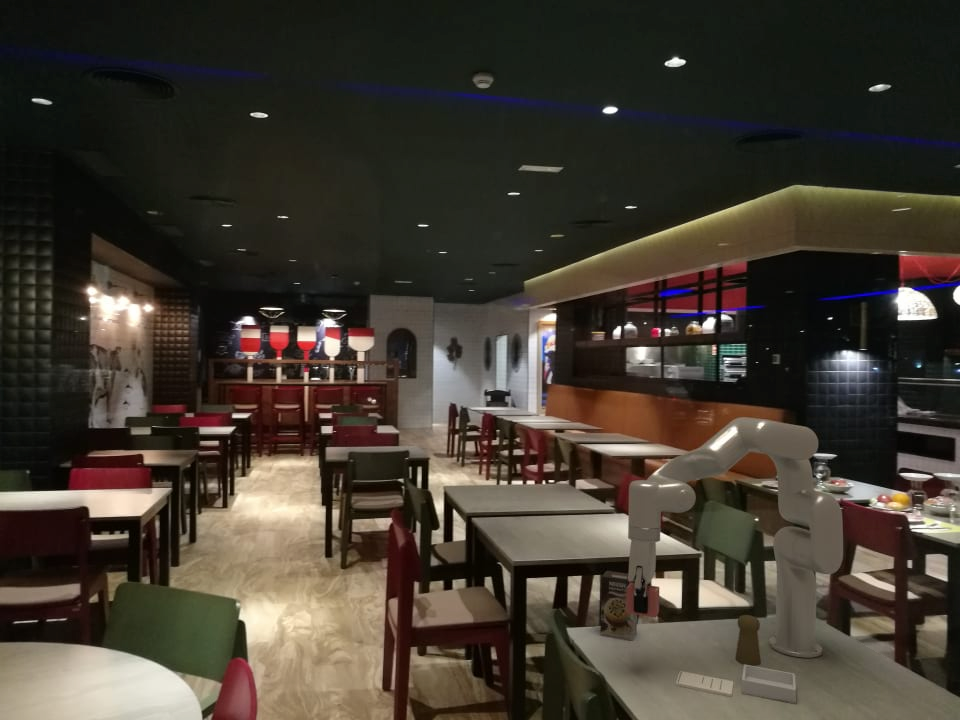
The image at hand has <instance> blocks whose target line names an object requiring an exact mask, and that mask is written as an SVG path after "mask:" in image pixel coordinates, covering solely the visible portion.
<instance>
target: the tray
mask: <svg viewBox="0 0 960 720" xmlns="http://www.w3.org/2000/svg"><path fill="white" fill-rule="evenodd" d="M742 669H743V670H742V678H741V679H742V680H741V694H743V695H749V696H755V697H760V698H762V699H763V698H765V699H769V700H774V701H779V702H784V703H788V704H789V703H790V704H794V705H796V698H797V697H796V696H797V688H796V687H797V685H796V673H793V672H787V671H782V670H777V669H770V668H767V667H762V666H761V667H760V666H750V665H745V664H743V668H742Z"/></svg>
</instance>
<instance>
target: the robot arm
mask: <svg viewBox="0 0 960 720" xmlns="http://www.w3.org/2000/svg"><path fill="white" fill-rule="evenodd" d="M818 448H819V439H818V436H817V435H816V433H815V432H814V431H813V430H812V429H811V428H809V427H808V426H802V425H798V424H796V425H795V424H792V423H791V424H790V423H785V422H780V421H774V420H772V419H771V420H770V419H767V418H766V419H763V418H755V417H743V416H742V417H737V418H734V419H733V420H731V421H730V422H729V423H728V424H726V425H725V426H724V427H723V428H721V429H720V430H719V431H718V432H716V434H715V435H713V436H712V437H710V439H708V440H707V441H705V443H703V444H702V445H701V446H699V447H698V448H696V449H695V448H694V449H693V450H690V451H688V452H685V453H683V454H680V455H678V456H676V457H674V458H672V459H670V460H668V461H666V462H665V463H664V464H663V465H660V467H658V468H657V469H656V470H655V471H653V473H651V475H649V476H648V478H647V479H646V480H645V479H641V480H639V479H638V480H633V481H631V482H630V483H629V487H628V517H627V518H628V521H627V522H628V525H627V526H628V527H627V528H628V531H627V539H629V540H630V547H629V561H628V573H627V574H628V581H629V582H632V581H633V580H634V579H635V589H634V612H637V613H643V614H647V613H648V596H647V585H650V586H653V584H652V581H653V579H654V577H655V575H656V574H655V573H656V565H657V564H656V563H657V557H656V556H657V554H656V552H657V544H656V543H659V542H660V541H661V519H662V518H661V517H662V512H669V513H677V514H680V513H685V512H687V511H689V510H691V509H692V508H693V507H694V505H695V503H696V500H697V497H696V492H695V491H694V489H693V488H692V486H691V485H689V484H688V483H690V482H691V481H695V480H700V479H707V478H713V477H718V476H721V475H724V474H726V473H727V472H728V471H729V470H731V469H732V467H733V466H735V465H736V464H737V463H739V461H740V460H741V459H743V458H744V457H746V456H747V455H748V454H749V453H756V454H763V455H767V456H768V457H769V458H770V459H771V460H772V462H773V464H774V466H775V469H776V474H777V477H776V478H777V500H778V501H777V503H778V512H779V515H780V516H781V518H783V519H784V520H785V521H788V523H789V522H790V523H793V524H797V525H800V526H803V527H806V528H808V529H809V530H808V529H805V528H801V527H799V526H783V527H782V528H779V529H778V531H777V532H776V533H775V534H774V537H773V541H772V543H773V546H772V547H773V553H774V554H773V555H774V559H775V563H776V595H775V597H776V598H775V599H776V600H775V601H776V603H775V604H776V605H775V635H772V636H771V637H770V638H769V640H768V644H769V646H770V647H771V648H772V649H773V650H775V651H777V652H779V653H781V654H785V655H787V656H790V657H797V658H806V659H808V658H809V659H813V658H816V657H817V658H818V657H820V656H821V655H822V654H823V648H822V646H821V645H820V644H819V643H817V641H816V633H817V630H816V629H817V627H816V625H817V621H816V620H817V586H818V585H817V579H816V575H815V573H818V574H822V575H832V574H834V573H836V572H837V571H838V570H839V569H840V567H841V566H842V562H843V560H844V559H843V558H844V530H843V529H844V528H843V526H844V525H843V512H842V508H841V506H840V503H839V502H838V500H837V499H836V498H835V497H834V496H833V495H831V494H828V492H827V493H826V492H822V491H819V490H816V489H815V487H814V475H813V469H812V464H811V462H810V459H811V458H812V457H814V455H815V454H816V453H817V451H818ZM642 586H644V589H643V587H642Z"/></svg>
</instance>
